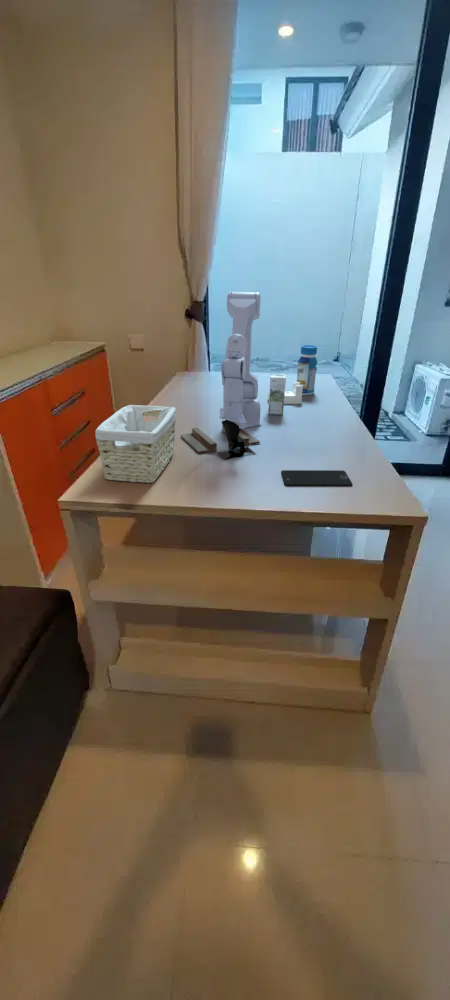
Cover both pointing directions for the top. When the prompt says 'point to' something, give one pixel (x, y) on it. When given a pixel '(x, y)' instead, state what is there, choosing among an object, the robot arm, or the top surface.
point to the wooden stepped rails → (206, 444)
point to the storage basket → (136, 443)
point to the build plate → (236, 450)
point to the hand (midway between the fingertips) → (232, 443)
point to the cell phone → (315, 478)
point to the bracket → (293, 394)
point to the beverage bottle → (307, 369)
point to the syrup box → (276, 394)
